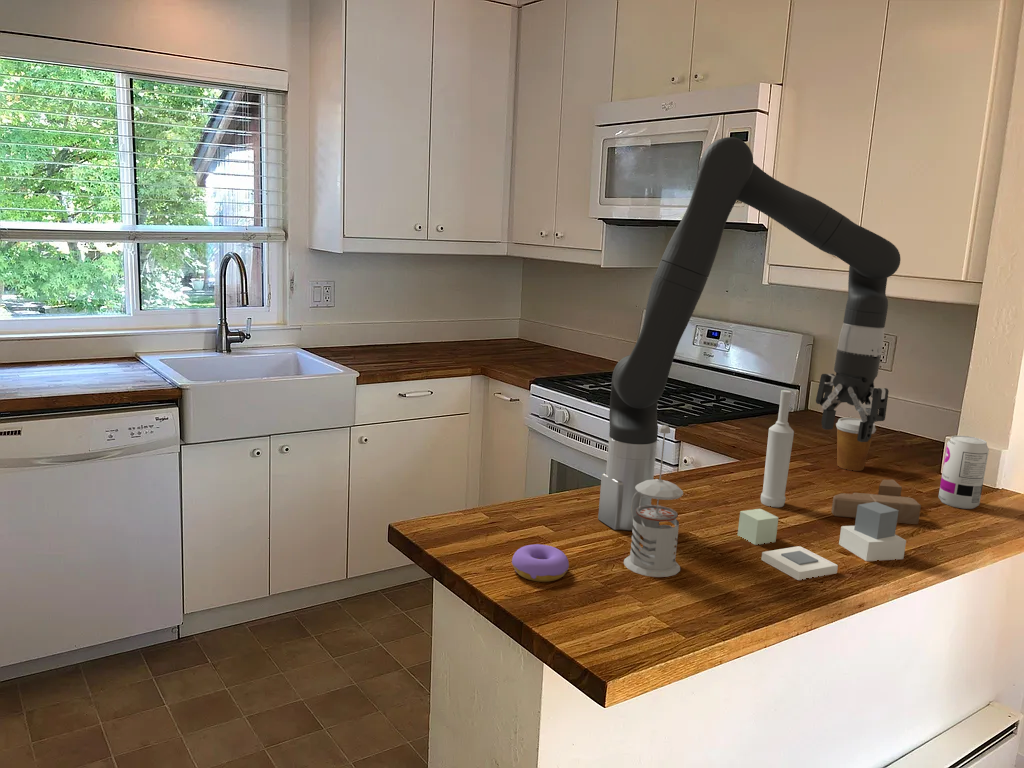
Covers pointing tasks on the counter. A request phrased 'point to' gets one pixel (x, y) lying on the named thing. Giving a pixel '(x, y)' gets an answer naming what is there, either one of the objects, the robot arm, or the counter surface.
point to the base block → (872, 545)
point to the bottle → (778, 456)
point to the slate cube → (876, 520)
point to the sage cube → (757, 526)
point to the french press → (655, 528)
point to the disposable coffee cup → (851, 444)
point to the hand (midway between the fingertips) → (844, 435)
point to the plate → (799, 562)
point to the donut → (540, 563)
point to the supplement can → (963, 472)
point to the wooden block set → (887, 496)
